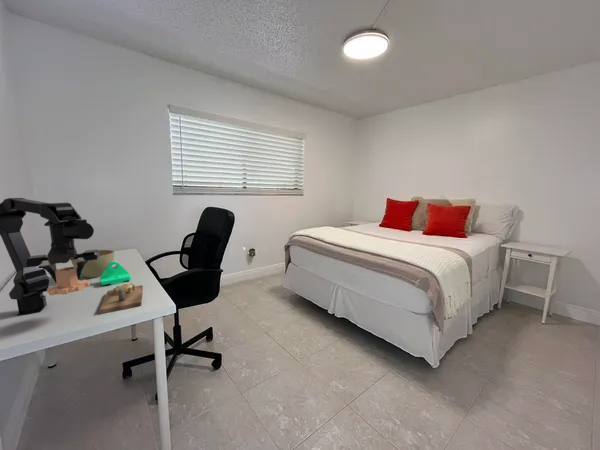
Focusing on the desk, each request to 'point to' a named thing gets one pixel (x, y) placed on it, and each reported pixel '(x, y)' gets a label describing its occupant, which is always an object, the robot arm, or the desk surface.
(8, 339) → the desk surface
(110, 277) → the camera mount
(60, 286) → the gear
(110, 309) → the carrier
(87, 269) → the tan bowl
